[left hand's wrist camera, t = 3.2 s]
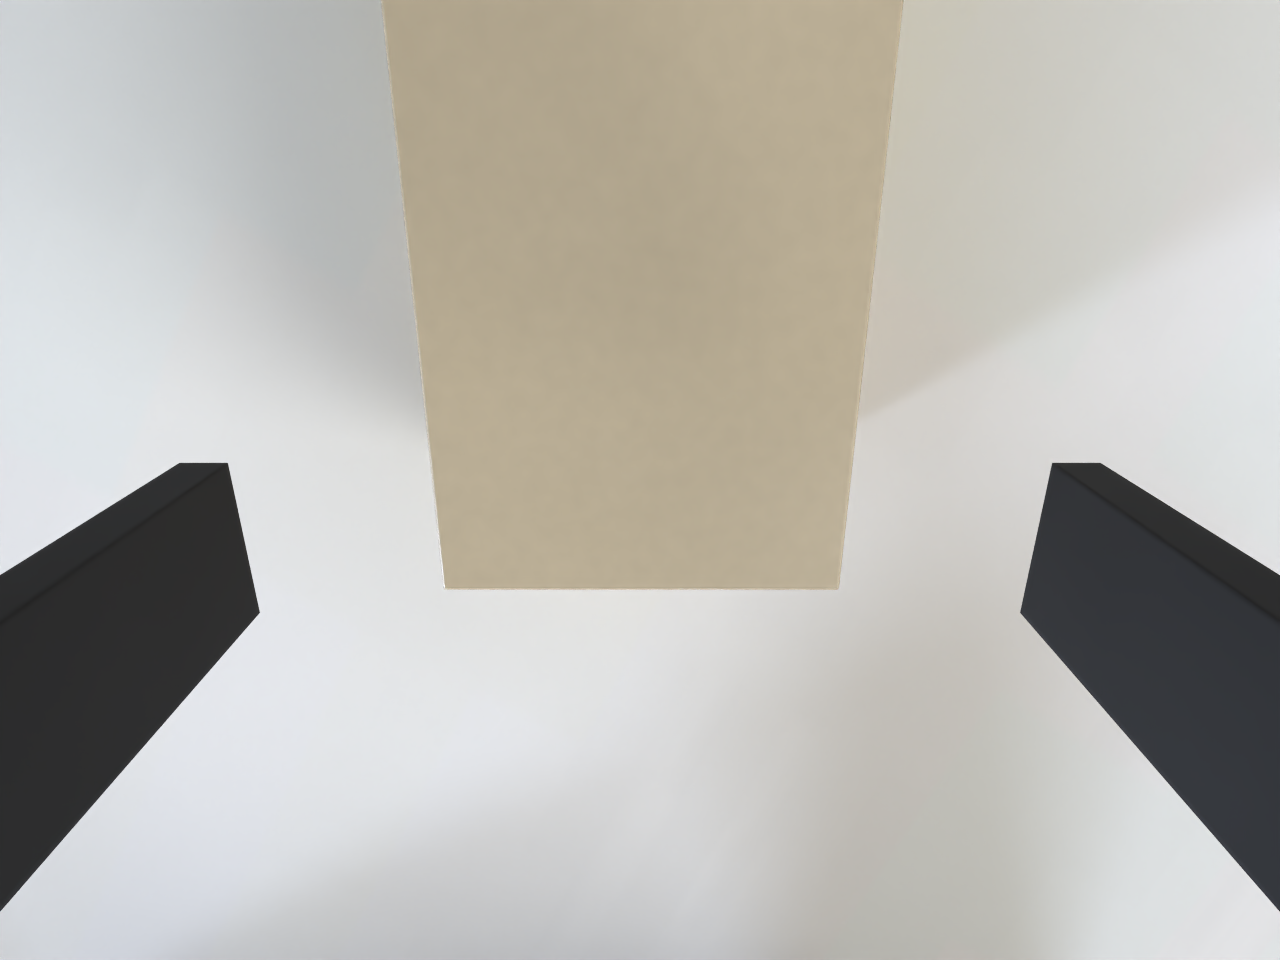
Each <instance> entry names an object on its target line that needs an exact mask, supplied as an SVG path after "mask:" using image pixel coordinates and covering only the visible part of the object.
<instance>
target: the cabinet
mask: <svg viewBox="0 0 1280 960" xmlns="http://www.w3.org/2000/svg"><path fill="white" fill-rule="evenodd" d="M381 6H382V15H383V24H384V34H385V43H386V52H387V62H388V71H389V80H390V90H391V99H392V109H393V118H394V127H395V137H396V146H397V155H398V165H399V174H400V184H401V193H402V202H403V212H404V221H405V230H406V240H407V249H408V259H409V268H410V277H411V287H412V296H413V305H414V315H415V324H416V334H417V343H418V352H419V362H420V371H421V380H422V390H423V399H424V408H425V418H426V427H427V437H428V446H429V455H430V465H431V474H432V483H433V493H434V502H435V512H436V521H437V530H438V540H439V549H440V558H441V568H442V577H443V587H444V589H458V590H837V589H838V588H839V582H840V573H841V564H842V555H843V546H844V537H845V528H846V518H847V509H848V500H849V491H850V482H851V473H852V464H853V455H854V446H855V436H856V427H857V418H858V409H859V400H860V391H861V382H862V373H863V364H864V355H865V345H866V336H867V327H868V318H869V309H870V300H871V291H872V282H873V273H874V263H875V254H876V245H877V236H878V227H879V218H880V209H881V200H882V191H883V181H884V172H885V163H886V154H887V145H888V136H889V127H890V118H891V109H892V100H893V90H894V81H895V72H896V63H897V54H898V45H899V36H900V27H901V18H902V8H903V0H381Z"/></svg>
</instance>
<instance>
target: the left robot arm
mask: <svg viewBox="0 0 1280 960" xmlns="http://www.w3.org/2000/svg"><path fill="white" fill-rule="evenodd" d="M259 613H260V612H259V607H258V602H257V598H256V593H255V588H254V584H253V579H252V574H251V570H250V565H249V560H248V555H247V551H246V546H245V541H244V537H243V532H242V527H241V523H240V518H239V513H238V509H237V504H236V499H235V495H234V490H233V485H232V481H231V476H230V471H229V467H228V463H179V464H177V465H176V466H174V467H172V468H171V469H169V470H168V471H166V472H164V473H163V474H161V475H160V476H158V477H156V478H155V479H153V480H152V481H150V482H148V483H147V484H145V485H144V486H142V487H140V488H139V489H137V490H136V491H134V492H132V493H131V494H129V495H128V496H126V497H124V498H123V499H121V500H120V501H118V502H116V503H115V504H113V505H112V506H110V507H108V508H107V509H105V510H104V511H102V512H100V513H99V514H97V515H96V516H94V517H93V518H91V519H89V520H88V521H86V522H85V523H83V524H81V525H80V526H78V527H77V528H75V529H73V530H72V531H70V532H69V533H67V534H65V535H64V536H62V537H61V538H59V539H57V540H56V541H54V542H53V543H51V544H49V545H48V546H46V547H45V548H43V549H41V550H40V551H38V552H37V553H35V554H33V555H32V556H30V557H29V558H27V559H25V560H24V561H22V562H21V563H19V564H17V565H16V566H14V567H13V568H11V569H9V570H8V571H6V572H5V573H3V574H1V575H0V911H1V910H2V909H3V908H4V906H5V905H6V904H7V903H8V902H9V901H10V900H11V898H12V897H13V896H14V895H15V894H16V893H17V892H18V890H19V889H20V888H21V887H22V886H23V885H24V883H25V882H26V881H27V880H28V879H29V878H30V877H31V875H32V874H33V873H34V872H35V871H36V870H37V869H38V867H39V866H40V865H41V864H42V863H43V862H44V860H45V859H46V858H47V857H48V856H49V855H50V854H51V852H52V851H53V850H54V849H55V848H56V847H57V845H58V844H59V843H60V842H61V841H62V840H63V839H64V837H65V836H66V835H67V834H68V833H69V832H70V831H71V829H72V828H73V827H74V826H75V825H76V824H77V822H78V821H79V820H80V819H81V818H82V817H83V816H84V814H85V813H86V812H87V811H88V810H89V809H90V807H91V806H92V805H93V804H94V803H95V802H96V801H97V799H98V798H99V797H100V796H101V795H102V794H103V793H104V791H105V790H106V789H107V788H108V787H109V786H110V784H111V783H112V782H113V781H114V780H115V779H116V778H117V776H118V775H119V774H120V773H121V772H122V771H123V770H124V768H125V767H126V766H127V765H128V764H129V763H130V761H131V760H132V759H133V758H134V757H135V756H136V755H137V753H138V752H139V751H140V750H141V749H142V748H143V746H144V745H145V744H146V743H147V742H148V741H149V740H150V738H151V737H152V736H153V735H154V734H155V733H156V732H157V730H158V729H159V728H160V727H161V726H162V725H163V723H164V722H165V721H166V720H167V719H168V718H169V717H170V715H171V714H172V713H173V712H174V711H175V710H176V708H177V707H178V706H179V705H180V704H181V703H182V702H183V700H184V699H185V698H186V697H187V696H188V695H189V694H190V692H191V691H192V690H193V689H194V688H195V687H196V685H197V684H198V683H199V682H200V681H201V680H202V679H203V677H204V676H205V675H206V674H207V673H208V672H209V671H210V669H211V668H212V667H213V666H214V665H215V664H216V662H217V661H218V660H219V659H220V658H221V657H222V656H223V654H224V653H225V652H226V651H227V650H228V649H229V647H230V646H231V645H232V644H233V643H234V642H235V641H236V639H237V638H238V637H239V636H240V635H241V634H242V633H243V631H244V630H245V629H246V628H247V627H248V626H249V624H250V623H251V622H252V621H253V620H254V619H255V618H256V616H257V615H258V614H259ZM1020 613H1021V614H1022V615H1023V616H1024V618H1025V619H1026V620H1027V621H1028V622H1029V623H1030V624H1031V626H1032V627H1033V628H1034V629H1035V630H1036V631H1037V633H1038V634H1039V635H1040V636H1041V637H1042V638H1043V639H1044V641H1045V642H1046V643H1047V644H1048V645H1049V646H1050V647H1051V649H1052V650H1053V651H1054V652H1055V653H1056V654H1057V656H1058V657H1059V658H1060V659H1061V660H1062V661H1063V662H1064V664H1065V665H1066V666H1067V667H1068V668H1069V669H1070V671H1071V672H1072V673H1073V674H1074V675H1075V676H1076V677H1077V679H1078V680H1079V681H1080V682H1081V683H1082V684H1083V685H1084V687H1085V688H1086V689H1087V690H1088V691H1089V692H1090V694H1091V695H1092V696H1093V697H1094V698H1095V699H1096V700H1097V702H1098V703H1099V704H1100V705H1101V706H1102V707H1103V708H1104V710H1105V711H1106V712H1107V713H1108V714H1109V715H1110V717H1111V718H1112V719H1113V720H1114V721H1115V722H1116V723H1117V725H1118V726H1119V727H1120V728H1121V729H1122V730H1123V732H1124V733H1125V734H1126V735H1127V736H1128V737H1129V738H1130V740H1131V741H1132V742H1133V743H1134V744H1135V745H1136V746H1137V748H1138V749H1139V750H1140V751H1141V752H1142V753H1143V755H1144V756H1145V757H1146V758H1147V759H1148V760H1149V761H1150V763H1151V764H1152V765H1153V766H1154V767H1155V768H1156V770H1157V771H1158V772H1159V773H1160V774H1161V775H1162V776H1163V778H1164V779H1165V780H1166V781H1167V782H1168V783H1169V784H1170V786H1171V787H1172V788H1173V789H1174V790H1175V791H1176V793H1177V794H1178V795H1179V796H1180V797H1181V798H1182V799H1183V801H1184V802H1185V803H1186V804H1187V805H1188V806H1189V807H1190V809H1191V810H1192V811H1193V812H1194V813H1195V814H1196V816H1197V817H1198V818H1199V819H1200V820H1201V821H1202V822H1203V824H1204V825H1205V826H1206V827H1207V828H1208V829H1209V831H1210V832H1211V833H1212V834H1213V835H1214V836H1215V837H1216V839H1217V840H1218V841H1219V842H1220V843H1221V844H1222V845H1223V847H1224V848H1225V849H1226V850H1227V851H1228V852H1229V854H1230V855H1231V856H1232V857H1233V858H1234V859H1235V860H1236V862H1237V863H1238V864H1239V865H1240V866H1241V867H1242V869H1243V870H1244V871H1245V872H1246V873H1247V874H1248V875H1249V877H1250V878H1251V879H1252V880H1253V881H1254V882H1255V883H1256V885H1257V886H1258V887H1259V888H1260V889H1261V890H1262V892H1263V893H1264V894H1265V895H1266V896H1267V897H1268V898H1269V900H1270V901H1271V902H1272V903H1273V904H1274V905H1275V906H1276V908H1277V909H1278V910H1279V911H1280V575H1279V574H1277V573H1275V572H1274V571H1272V570H1271V569H1269V568H1267V567H1266V566H1264V565H1263V564H1261V563H1259V562H1258V561H1256V560H1255V559H1253V558H1251V557H1250V556H1248V555H1247V554H1245V553H1243V552H1242V551H1240V550H1239V549H1237V548H1235V547H1234V546H1232V545H1231V544H1229V543H1227V542H1226V541H1224V540H1223V539H1221V538H1219V537H1218V536H1216V535H1215V534H1213V533H1211V532H1210V531H1208V530H1207V529H1205V528H1203V527H1202V526H1200V525H1199V524H1197V523H1195V522H1194V521H1192V520H1191V519H1189V518H1187V517H1186V516H1184V515H1183V514H1181V513H1180V512H1178V511H1176V510H1175V509H1173V508H1172V507H1170V506H1168V505H1167V504H1165V503H1164V502H1162V501H1160V500H1159V499H1157V498H1156V497H1154V496H1152V495H1151V494H1149V493H1148V492H1146V491H1144V490H1143V489H1141V488H1140V487H1138V486H1136V485H1135V484H1133V483H1132V482H1130V481H1128V480H1127V479H1125V478H1124V477H1122V476H1120V475H1119V474H1117V473H1116V472H1114V471H1112V470H1111V469H1109V468H1108V467H1106V466H1104V465H1103V464H1101V463H1052V467H1051V471H1050V476H1049V481H1048V485H1047V490H1046V495H1045V499H1044V504H1043V509H1042V513H1041V518H1040V523H1039V527H1038V532H1037V537H1036V541H1035V546H1034V551H1033V555H1032V560H1031V565H1030V570H1029V574H1028V579H1027V584H1026V588H1025V593H1024V598H1023V602H1022V607H1021V612H1020Z"/></svg>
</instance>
